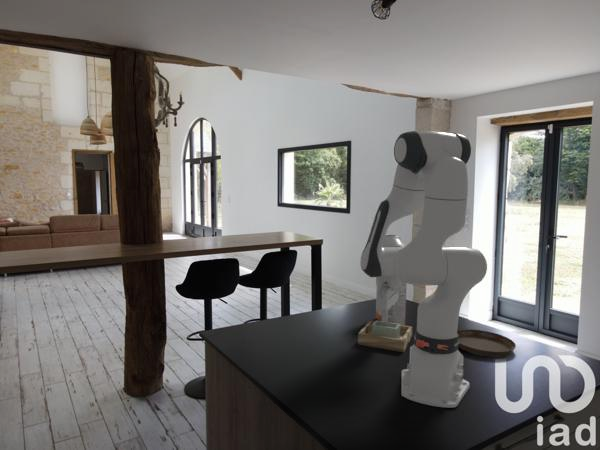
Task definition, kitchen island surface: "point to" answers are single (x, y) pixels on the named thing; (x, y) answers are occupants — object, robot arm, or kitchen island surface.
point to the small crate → (386, 329)
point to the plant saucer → (485, 343)
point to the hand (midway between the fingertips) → (387, 318)
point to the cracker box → (396, 307)
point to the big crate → (385, 338)
